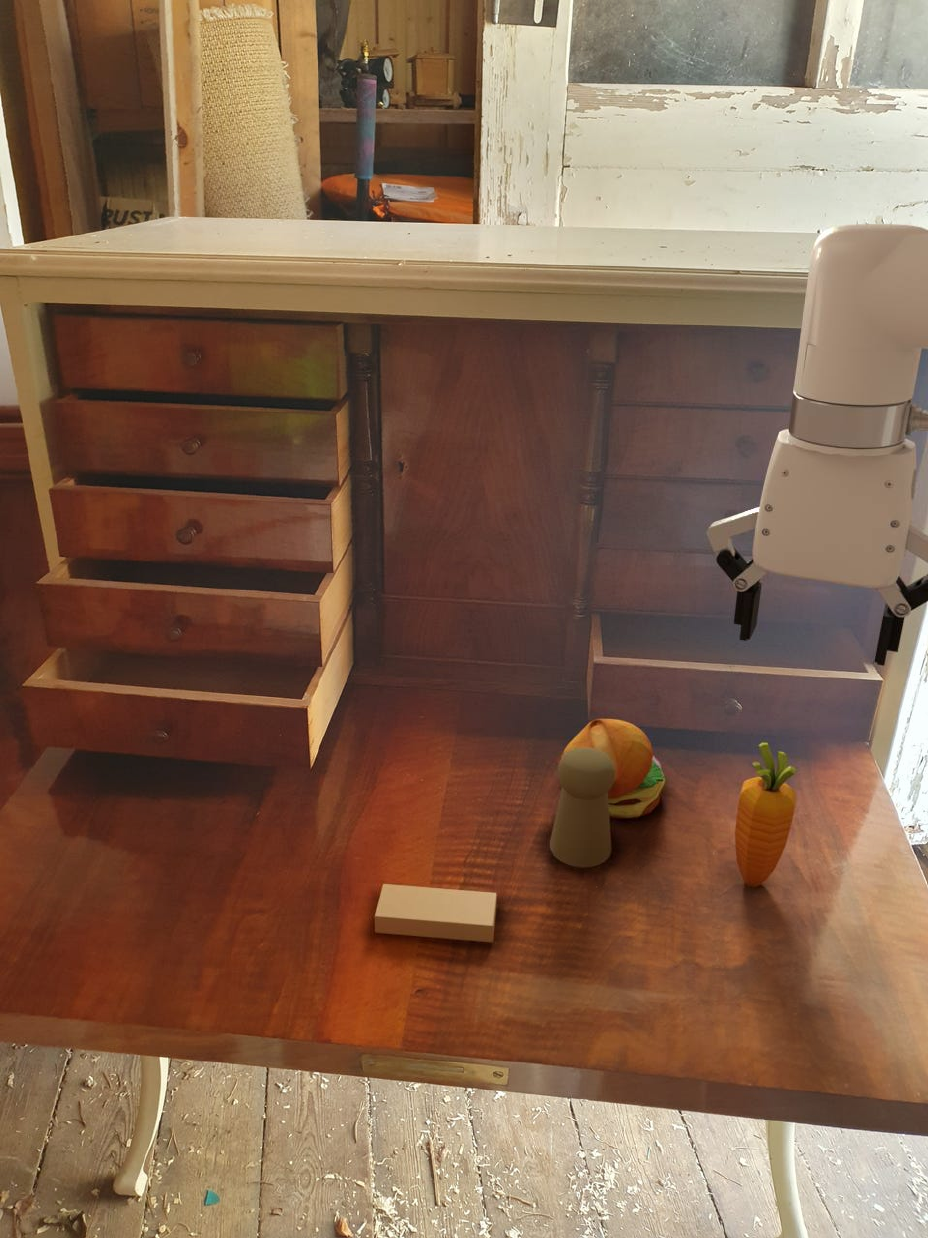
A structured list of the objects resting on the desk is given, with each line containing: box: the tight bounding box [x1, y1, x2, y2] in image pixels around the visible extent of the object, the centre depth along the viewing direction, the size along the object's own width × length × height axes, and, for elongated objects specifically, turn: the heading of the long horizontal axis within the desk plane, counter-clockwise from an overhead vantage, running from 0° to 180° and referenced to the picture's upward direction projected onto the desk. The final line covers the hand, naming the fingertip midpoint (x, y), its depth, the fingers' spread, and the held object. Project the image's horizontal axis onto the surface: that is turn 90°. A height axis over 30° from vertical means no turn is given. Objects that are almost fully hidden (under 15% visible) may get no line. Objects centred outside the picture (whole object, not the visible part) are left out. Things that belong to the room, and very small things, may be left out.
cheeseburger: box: [557, 718, 666, 820], centre depth 98 cm, size 10×11×10 cm
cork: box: [549, 747, 615, 868], centre depth 90 cm, size 6×6×11 cm
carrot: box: [734, 742, 797, 888], centre depth 85 cm, size 5×5×15 cm
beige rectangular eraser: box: [374, 883, 498, 943], centre depth 83 cm, size 10×4×2 cm, turn 84°
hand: (812, 645), depth 73 cm, fingers open, 9 cm apart
